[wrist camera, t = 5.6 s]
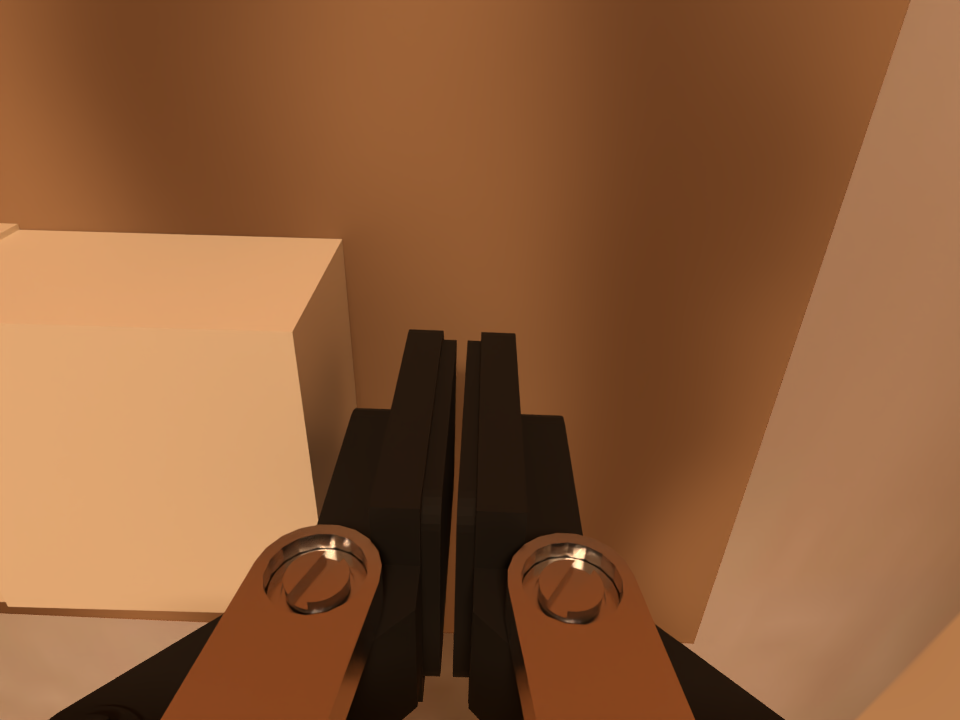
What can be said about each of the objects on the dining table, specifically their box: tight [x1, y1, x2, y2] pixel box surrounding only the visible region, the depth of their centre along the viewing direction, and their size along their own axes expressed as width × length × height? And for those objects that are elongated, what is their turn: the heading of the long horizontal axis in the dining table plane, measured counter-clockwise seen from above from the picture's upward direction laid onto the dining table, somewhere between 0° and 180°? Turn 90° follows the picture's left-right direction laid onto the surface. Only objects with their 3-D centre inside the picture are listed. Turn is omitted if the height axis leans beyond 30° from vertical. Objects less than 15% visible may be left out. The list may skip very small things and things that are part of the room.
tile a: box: [0, 230, 357, 613], centre depth 10 cm, size 5×5×3 cm
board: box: [0, 0, 910, 644], centre depth 13 cm, size 18×14×4 cm
